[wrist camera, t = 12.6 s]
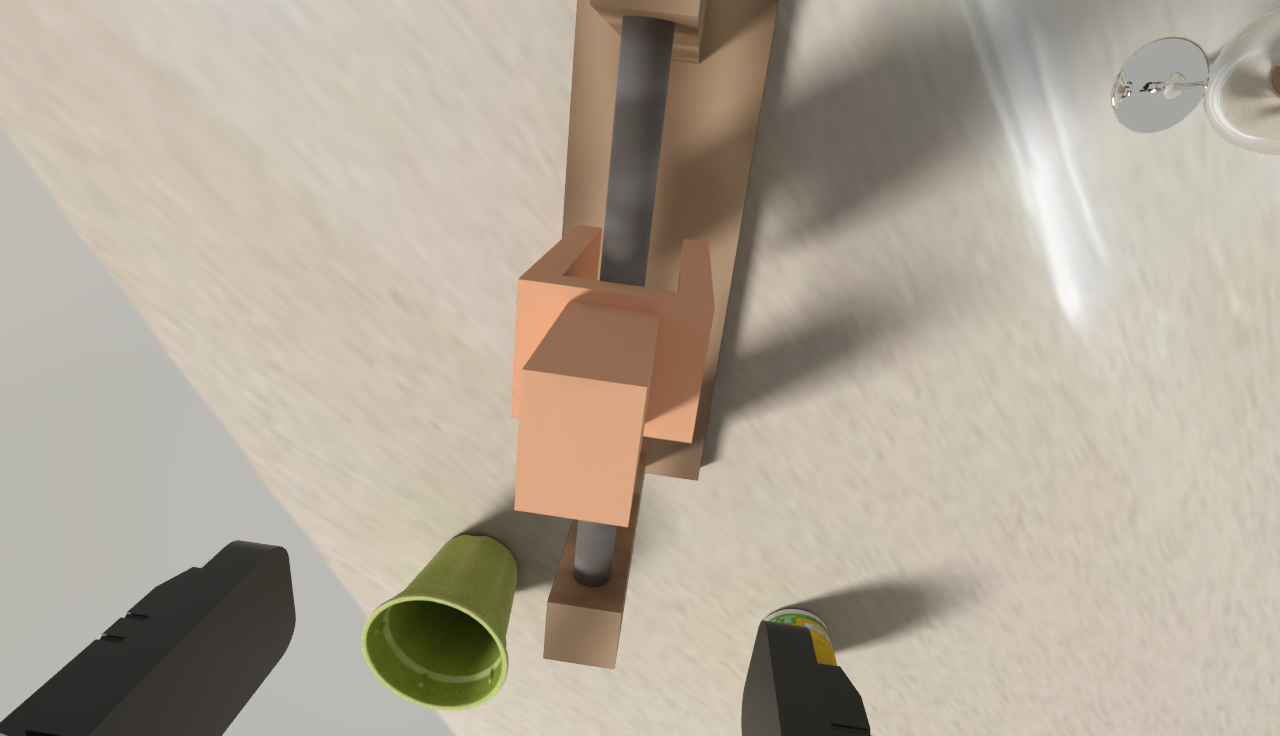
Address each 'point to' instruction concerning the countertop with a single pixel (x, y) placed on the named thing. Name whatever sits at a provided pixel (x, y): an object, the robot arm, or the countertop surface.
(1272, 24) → the wineglass
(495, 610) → the plant pot
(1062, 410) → the countertop surface
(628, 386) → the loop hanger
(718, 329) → the hook stand
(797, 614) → the supplement bottle
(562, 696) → the countertop surface
